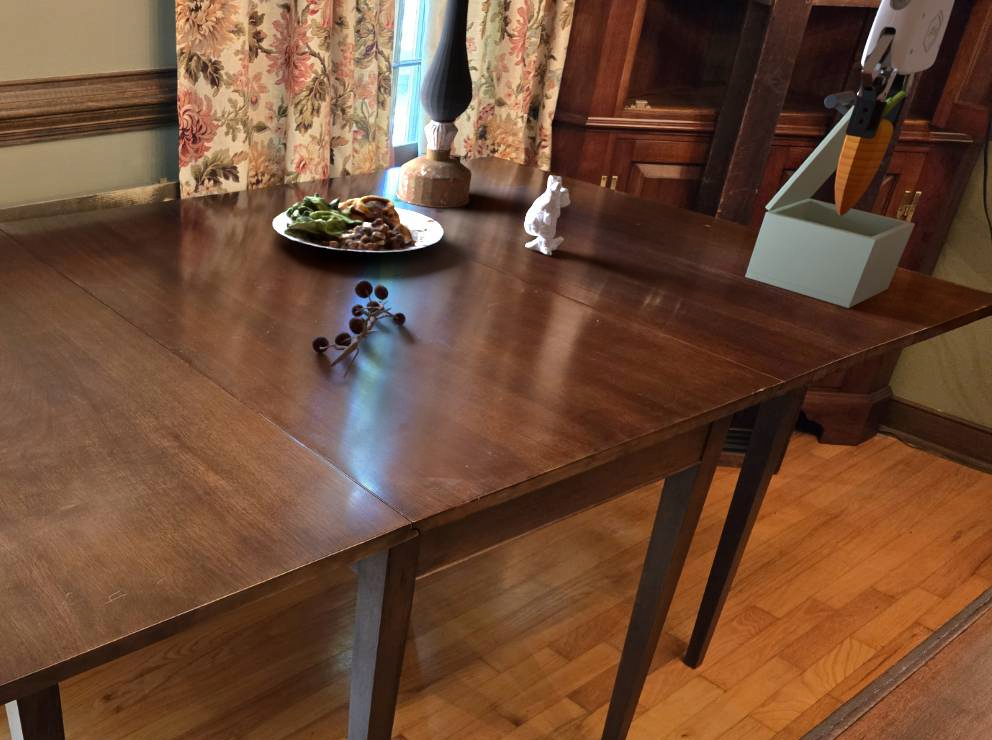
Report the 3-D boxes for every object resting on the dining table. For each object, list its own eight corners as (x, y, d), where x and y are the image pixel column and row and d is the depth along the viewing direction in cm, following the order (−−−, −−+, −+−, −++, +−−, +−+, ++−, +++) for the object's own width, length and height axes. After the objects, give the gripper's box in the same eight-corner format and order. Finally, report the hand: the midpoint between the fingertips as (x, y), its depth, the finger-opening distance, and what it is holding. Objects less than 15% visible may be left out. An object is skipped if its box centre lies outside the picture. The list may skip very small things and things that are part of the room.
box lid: (899, 99, 138) (869, 75, 140) (857, 109, 130) (827, 83, 132) (811, 196, 151) (785, 174, 153) (768, 210, 144) (741, 186, 145)
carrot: (868, 216, 120) (917, 86, 112) (852, 223, 117) (901, 90, 109) (828, 207, 123) (872, 79, 115) (811, 214, 120) (855, 83, 112)
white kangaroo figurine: (561, 259, 154) (578, 182, 147) (519, 254, 155) (533, 177, 148) (562, 243, 160) (577, 169, 153) (521, 239, 162) (535, 165, 155)
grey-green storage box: (887, 289, 148) (915, 223, 142) (848, 308, 140) (875, 240, 134) (786, 260, 157) (808, 198, 152) (744, 277, 150) (765, 212, 144)
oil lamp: (392, 221, 179) (382, -19, 152) (402, 186, 189) (395, -44, 162) (467, 220, 176) (471, -25, 148) (474, 184, 186) (479, -51, 159)
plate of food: (237, 236, 157) (237, 198, 154) (342, 204, 175) (345, 170, 171) (373, 280, 142) (377, 239, 139) (473, 241, 160) (479, 204, 156)
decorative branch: (377, 252, 132) (377, 282, 105) (406, 312, 135) (413, 356, 108) (305, 291, 135) (287, 330, 108) (335, 348, 138) (324, 401, 111)
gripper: (940, -40, 98) (872, 149, 108) (996, -43, 107) (929, 130, 117) (864, -45, 102) (806, 137, 112) (924, -48, 112) (866, 120, 122)
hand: (870, 132), depth 115 cm, fingers closed on carrot, 5 cm apart
